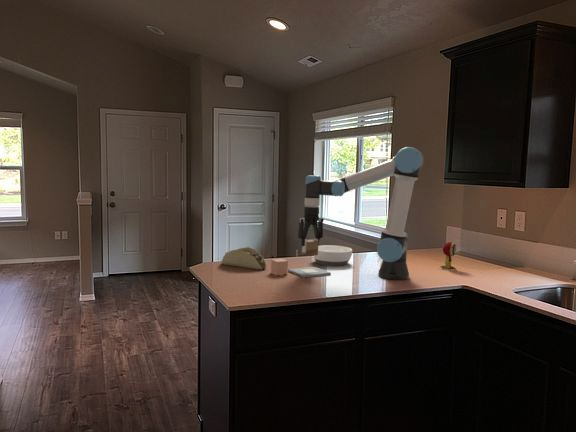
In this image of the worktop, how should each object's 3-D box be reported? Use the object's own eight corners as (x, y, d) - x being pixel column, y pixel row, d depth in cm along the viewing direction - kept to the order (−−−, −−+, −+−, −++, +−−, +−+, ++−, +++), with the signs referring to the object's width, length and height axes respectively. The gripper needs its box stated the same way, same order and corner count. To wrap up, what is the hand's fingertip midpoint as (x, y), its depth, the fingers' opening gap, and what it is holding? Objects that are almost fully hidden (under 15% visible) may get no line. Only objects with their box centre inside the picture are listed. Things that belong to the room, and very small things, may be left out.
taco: (260, 272, 253) (261, 252, 252) (216, 265, 265) (217, 246, 264) (269, 268, 262) (270, 249, 260) (226, 262, 273) (227, 244, 272)
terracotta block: (287, 274, 248) (287, 261, 247) (276, 275, 245) (277, 261, 244) (281, 272, 253) (281, 258, 252) (271, 273, 250) (271, 259, 249)
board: (330, 275, 250) (330, 272, 250) (303, 277, 242) (303, 275, 242) (314, 269, 263) (314, 266, 263) (288, 271, 255) (288, 269, 255)
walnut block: (317, 255, 251) (318, 241, 250) (307, 255, 248) (308, 242, 247) (311, 253, 256) (312, 239, 255) (301, 253, 253) (302, 240, 252)
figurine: (455, 271, 269) (457, 244, 267) (436, 269, 274) (438, 242, 272) (458, 268, 276) (460, 242, 274) (440, 266, 281) (442, 240, 279)
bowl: (306, 264, 274) (306, 249, 273) (318, 257, 295) (319, 244, 294) (346, 269, 266) (347, 253, 265) (355, 261, 287) (356, 247, 286)
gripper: (323, 205, 257) (321, 249, 259) (291, 205, 247) (289, 251, 250) (331, 206, 251) (329, 252, 253) (299, 207, 241) (297, 254, 244)
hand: (309, 251), depth 252 cm, fingers closed on walnut block, 6 cm apart
